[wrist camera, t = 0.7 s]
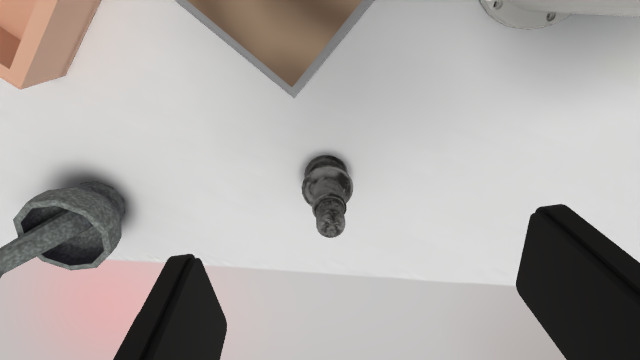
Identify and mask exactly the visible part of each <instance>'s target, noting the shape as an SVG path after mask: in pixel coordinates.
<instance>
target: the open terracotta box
mask: <svg viewBox="0 0 640 360" xmlns="http://www.w3.org/2000/svg"><path fill="white" fill-rule="evenodd" d="M100 1H101V0H0V78H2V79H4V80H5V81H7V82H9V83H10V84H12V85H13V86H15V87H17V88H18V89H24V88H27V87H30V86H33V85H36V84H40V83H43V82H46V81H49V80H53V79H56V78H59V77H62V76H65V75H66V73H67V71H68V69H69V67H70V65H71V63H72V60H73V58H74V56H75V54H76V52H77V50H78V48H79V46H80V44H81V41H82V39H83V37H84V35H85V33H86V31H87V29H88V27H89V25H90V23H91V20H92V18H93V16H94V14H95V12H96V10H97V8H98V6H99V4H100Z"/></svg>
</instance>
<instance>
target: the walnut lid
mask: <svg viewBox="0 0 640 360" xmlns="http://www.w3.org/2000/svg"><path fill="white" fill-rule="evenodd" d="M187 1H188V2H190V3H191V4H192V5H193V6H194V7H196V8H197V9H198V10H199V11H200V12H202V13H203V14H204V15H205V16H206V17H208V18H209V19H210V20H211V21H212V22H214V23H215V24H216V25H217V26H218V27H220V28H221V29H222V30H223V31H224V32H226V33H227V34H228V35H229V36H230V37H232V38H233V39H234V40H235V41H236V42H238V43H239V44H240V45H241V46H242V47H244V48H245V49H246V50H247V51H249V52H250V53H251V54H252V55H253V56H255V57H256V58H257V59H258V60H259V61H261V62H262V63H263V64H264V65H265V66H267V67H268V68H269V69H270V70H271V71H273V72H274V73H275V74H276V75H277V76H279V77H280V78H281V79H282V80H283V81H285V82H286V83H287V84H288V85H289V86H291V87H293V86H294V85H295V83H296V82H297V81H298V80H299V78H300V77H301V76H302V75H303V73H304V72H305V71H306V70H307V68H308V67H309V66H310V65H311V63H312V62H313V61H314V60H315V58H316V57H317V56H318V55H319V54H320V52H321V51H322V50H323V49H324V47H325V46H326V45H327V44H328V42H329V41H330V40H331V39H332V37H333V36H334V35H335V34H336V32H337V31H338V30H339V29H340V27H341V26H342V25H343V24H344V22H345V21H346V20H347V19H348V17H349V16H350V15H351V14H352V12H353V11H354V10H355V9H356V7H357V6H358V5H359V4H360V2H361V1H362V0H187Z"/></svg>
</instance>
